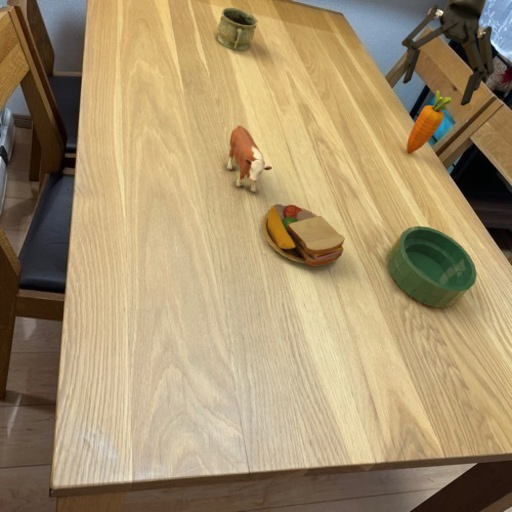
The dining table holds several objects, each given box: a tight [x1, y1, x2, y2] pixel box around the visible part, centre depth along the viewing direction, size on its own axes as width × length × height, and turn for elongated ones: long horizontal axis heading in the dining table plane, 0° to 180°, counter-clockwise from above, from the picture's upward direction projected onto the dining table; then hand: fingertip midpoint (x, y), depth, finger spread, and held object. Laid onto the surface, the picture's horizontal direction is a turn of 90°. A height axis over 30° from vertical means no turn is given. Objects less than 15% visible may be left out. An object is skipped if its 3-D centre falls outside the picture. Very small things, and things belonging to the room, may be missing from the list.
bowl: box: [386, 225, 478, 308], centre depth 81 cm, size 14×14×5 cm
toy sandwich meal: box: [261, 203, 346, 267], centre depth 78 cm, size 12×14×5 cm
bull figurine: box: [226, 124, 273, 193], centre depth 83 cm, size 4×13×8 cm, turn 15°
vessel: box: [217, 7, 258, 51], centre depth 117 cm, size 12×9×6 cm
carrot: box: [406, 90, 453, 155], centre depth 103 cm, size 5×5×15 cm
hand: (435, 92), depth 104 cm, fingers open, 13 cm apart
